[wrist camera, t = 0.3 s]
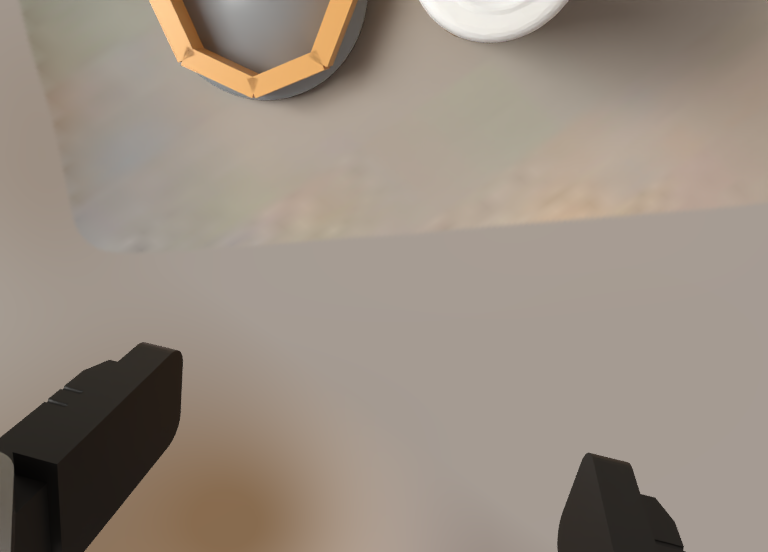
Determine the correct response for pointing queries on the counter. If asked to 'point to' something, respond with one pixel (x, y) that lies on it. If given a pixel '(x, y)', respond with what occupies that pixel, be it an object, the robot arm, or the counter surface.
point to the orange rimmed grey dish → (262, 41)
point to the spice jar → (492, 17)
